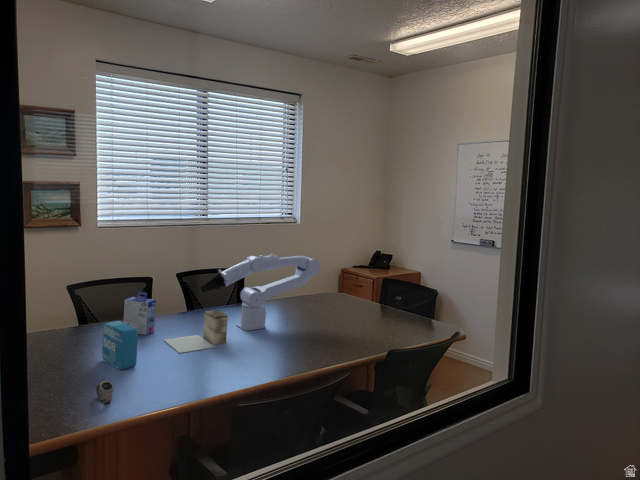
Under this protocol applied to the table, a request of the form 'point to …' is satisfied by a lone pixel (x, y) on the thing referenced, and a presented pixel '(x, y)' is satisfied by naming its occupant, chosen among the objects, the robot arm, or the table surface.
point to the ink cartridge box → (140, 313)
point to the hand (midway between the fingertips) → (202, 289)
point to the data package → (119, 344)
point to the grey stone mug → (105, 391)
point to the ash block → (215, 327)
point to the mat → (189, 343)
